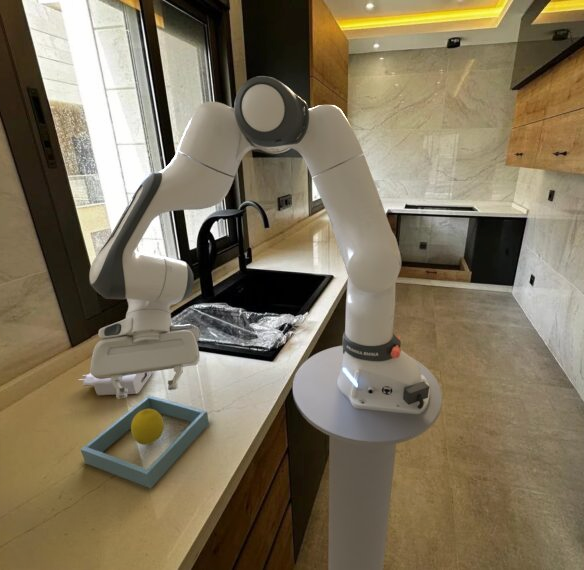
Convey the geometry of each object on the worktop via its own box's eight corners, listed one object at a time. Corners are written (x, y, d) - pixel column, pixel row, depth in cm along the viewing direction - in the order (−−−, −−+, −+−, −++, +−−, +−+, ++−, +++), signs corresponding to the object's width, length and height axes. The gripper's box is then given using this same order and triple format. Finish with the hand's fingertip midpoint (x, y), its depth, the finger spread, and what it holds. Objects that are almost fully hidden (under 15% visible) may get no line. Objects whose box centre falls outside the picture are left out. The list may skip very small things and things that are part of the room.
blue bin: (209, 423, 70) (206, 411, 69) (150, 488, 56) (146, 474, 55) (151, 407, 75) (149, 394, 73) (85, 463, 61) (80, 449, 60)
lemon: (154, 428, 69) (147, 397, 66) (172, 437, 67) (165, 406, 64) (129, 447, 64) (120, 415, 61) (148, 458, 62) (139, 425, 59)
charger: (94, 374, 86) (153, 372, 87) (71, 398, 77) (136, 395, 78) (89, 359, 84) (149, 357, 85) (65, 382, 75) (132, 379, 76)
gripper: (201, 327, 77) (203, 386, 72) (102, 338, 72) (97, 404, 67) (196, 318, 72) (199, 382, 66) (89, 330, 66) (83, 401, 61)
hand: (147, 393), depth 67 cm, fingers open, 8 cm apart
